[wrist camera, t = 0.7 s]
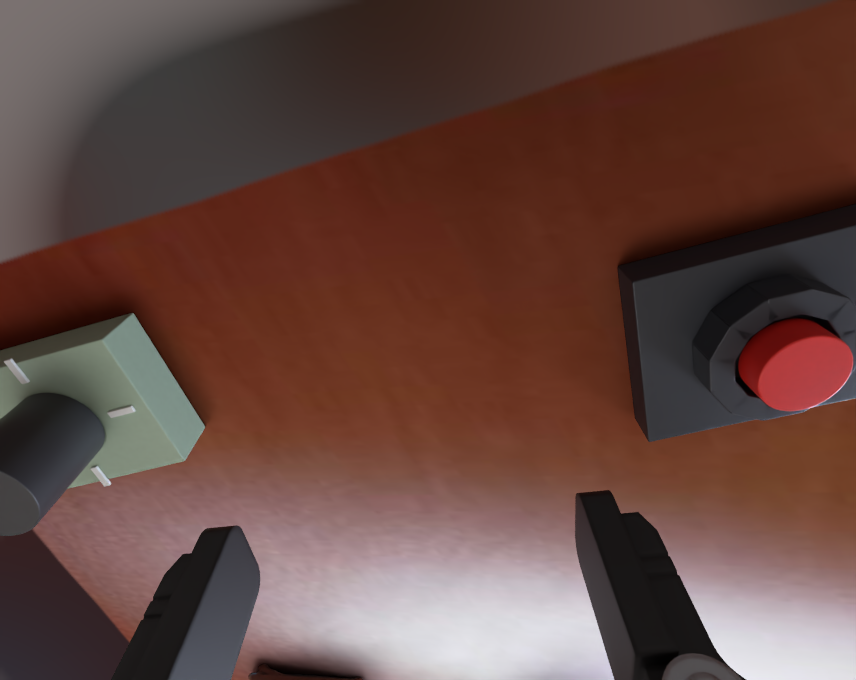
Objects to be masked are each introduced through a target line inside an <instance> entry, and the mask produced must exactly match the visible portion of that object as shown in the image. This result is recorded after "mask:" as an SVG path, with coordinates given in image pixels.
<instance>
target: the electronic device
mask: <svg viewBox="0 0 856 680" xmlns="http://www.w3.org/2000/svg"><path fill="white" fill-rule="evenodd" d="M249 680H362V678H337V677H329V676H316V675H302V674H282V673H279V672H277V671H275V670H273V669H270V668H269V667H268V666H267V665H265V664H262V665H260V666H259V667H258V672H257V673H251V674H250V675H249Z"/></svg>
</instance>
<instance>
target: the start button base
mask: <svg viewBox="0 0 856 680" xmlns="http://www.w3.org/2000/svg"><path fill="white" fill-rule="evenodd" d="M618 276H619V285H620V293H621V302H622V310H623V319H624V328H625V336H626V345H627V353H628V362H629V370H630V379H631V388H632V396H633V405H634V413H635V419H636V421H637V422H638V424H639V426H640V428H641V429H642V431H643V433H644V434H645V436H646V438H647V440H648V441H649V442H651V441H656V440H661V439H665V438H670V437H675V436H680V435H684V434H689V433H694V432H698V431H703V430H708V429H713V428H717V427H722V426H727V425H731V424H736V423H741V422H746V421H750V420H755V419H758V420H769V419H773V418H778V417H783V416H787V415H792V414H797V413H801V412H804V411H806V410H808V409H809V408H808V409H804V410H799V411H782V410H777V409H774V408H772V407H770V406H768V405H767V404H765V403H764V402H763V401H762V400H761V399H760V398H759V397H758V396H757V395H756V394H755V393H754V392H753V391H752V390H751V389H750V388H749V387H748V386H747V385H746V384H745V383H744V381H743V380H742V379H741V376H740V374H739V369H738V363H739V358H740V355H741V352H742V350H743V348H744V347H745V345H746V344H747V342H748V341H749V340H750V339H751V338H752V337H753V336H754V335H755V334H756V333H758V332H759V331H760V330H762V329H763V328H765V327H767V326H769V325H771V324H773V323H775V322H778V321H781V320H785V319H792V318H801V319H808V320H811V321H814V322H815V323H817V324H819V325H820V326H822V327H823V328H825V329H826V330H828V331H829V332H831V333H832V334H834V335H835V336H837V337H838V338H840V339H841V340H843V341H844V342H845V343H846V344H847V345H848V346H849V348H850V349H851V352H852V355H853V368H852V371H851V374H850V376H849V378H848V380H847V381H846V383H845V384H844V385H843V386H842V388H841V389H840V390H839V391H838V392H837V393H835V394H834V395H833V396H832V397H830V398H829V399H827V400H826V401H824V402H822V403H820V404H818V405H816V406H821V405H826V404H830V403H835V402H840V401H845V400H849V399H854V398H856V204H854V205H850V206H846V207H843V208H839V209H835V210H831V211H827V212H823V213H820V214H816V215H812V216H808V217H804V218H800V219H797V220H793V221H789V222H785V223H781V224H777V225H773V226H770V227H766V228H762V229H758V230H754V231H750V232H747V233H743V234H739V235H735V236H731V237H727V238H724V239H720V240H716V241H712V242H708V243H704V244H700V245H697V246H693V247H689V248H685V249H681V250H677V251H674V252H670V253H666V254H662V255H658V256H654V257H651V258H647V259H643V260H639V261H635V262H631V263H628V264H624V265H620V266H618ZM816 406H814V407H816ZM811 408H812V407H811Z"/></svg>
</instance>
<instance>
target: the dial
mask: <svg viewBox="0 0 856 680" xmlns="http://www.w3.org/2000/svg"><path fill="white" fill-rule="evenodd" d="M104 440H105V432H104V428H103V426H102V424H101V422H100V420H99V419H98V417H97V416H96V415H95V414H94V413H93V412H92V411H91V410H90V409H89V408H88V407H86V406H85V405H84V404H82V403H81V402H79V401H77V400H75V399H73V398H70V397H68V396H65V395H61V394H56V393H38V394H34V395H31V396H29V397H27V398H25V399H24V400H23V401H21V402H20V403H19V404H18V405H17V406H15V407H14V408H13V409H12V410H11V411H9V412H8V413H7V414H6V415H5V416H3V417H2V418H1V419H0V535H1V536H3V535H4V536H12V535H18V534H22V533H25V532H27V531H29V530H31V529H33V528H34V527H35V526H36V525H37V524H38V523H39V521H40V520H41V519H42V518H43V517H44V515H45V514H46V513H47V512H48V511H49V510H50V508H51V507H52V506H53V505H54V504H55V503H56V501H57V500H58V499H59V498H60V497H61V495H62V494H63V493H64V492H65V491H66V490H67V488H68V487H69V486H70V485H71V484H72V482H73V481H74V480H75V479H76V478H77V477H78V475H79V474H80V473H81V472H82V471H83V470H84V468H85V467H86V466H87V465H88V464H89V462H90V461H91V460H92V459H93V458H94V457H95V455H96V454H97V453H98V452H99V451H100V449H101V448H102V446H103V444H104Z"/></svg>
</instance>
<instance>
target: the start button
mask: <svg viewBox="0 0 856 680" xmlns="http://www.w3.org/2000/svg"><path fill="white" fill-rule="evenodd" d="M852 368H853V355H852V352H851V349H850V348H849V346H848V345H847V344H846V343H845V342H844V341H843V340H841V339H840V338H838V337H837V336H835V335H834V334H832V333H831V332H829V331H828V330H826V329H825V328H823V327H822V326H820V325H819V324H817V323H815V322H814V321H811V320H808V319H801V318H792V319H785V320H781V321H778V322H775V323H773V324H771V325H769V326H767V327H765V328H763V329H762V330H760V331H759V332H758V333H756V334H755V335H754V336H753V337H752V338H751V339H750V340H749V341H748V342H747V344H746V345H745V347H744V348H743V350H742V352H741V355H740V358H739V363H738V369H739V374H740V376H741V379H742V380H743V381H744V383H745V384H746V385H747V386H748V387H749V388H750V389H751V390H752V391H753V392H754V393H755V394H756V395H757V396H758V397H759V398H760V399H761V400H762V401H763V402H764V403H765V404H767V405H768V406H770V407H772V408H774V409H777V410H782V411H799V410H804V409H808V408H811V407H814V406H816V405H818V404H820V403H822V402H824V401H826V400H827V399H829V398H830V397H832V396H833V395H834V394H835V393H837V392H838V391H839V390H840V389H841V388H842V386H843V385H844V384H845V383H846V381H847V380H848V378H849V376H850V374H851V371H852Z"/></svg>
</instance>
